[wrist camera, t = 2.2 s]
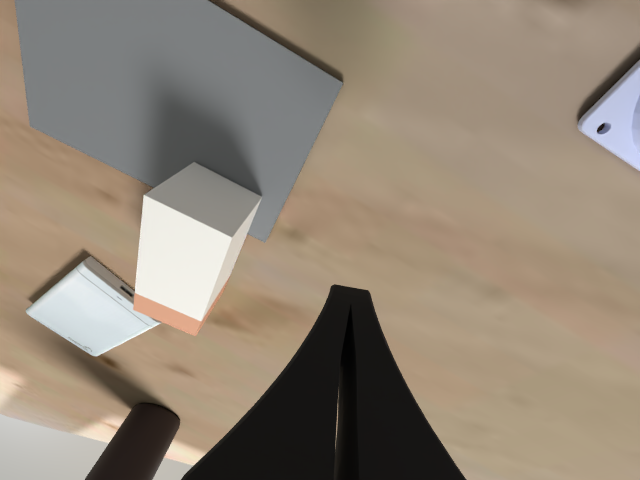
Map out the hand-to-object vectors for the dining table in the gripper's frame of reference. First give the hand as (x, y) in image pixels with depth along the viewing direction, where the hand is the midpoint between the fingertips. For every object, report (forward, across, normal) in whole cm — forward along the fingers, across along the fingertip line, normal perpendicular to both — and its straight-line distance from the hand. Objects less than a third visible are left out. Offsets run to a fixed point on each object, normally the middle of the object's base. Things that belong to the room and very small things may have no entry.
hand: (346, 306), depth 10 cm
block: (+6, +8, -1) cm, 10 cm away
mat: (+8, +11, -4) cm, 15 cm away
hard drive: (+9, +23, +16) cm, 29 cm away
